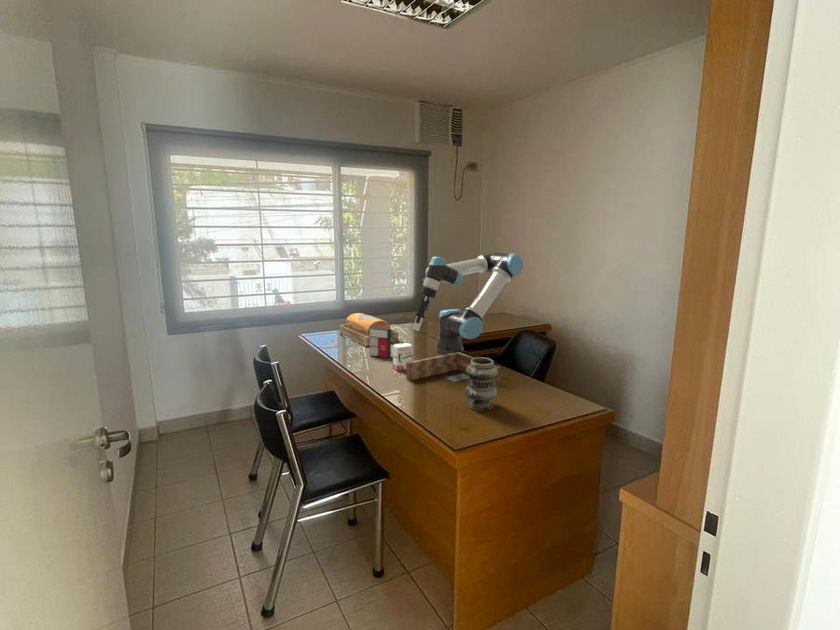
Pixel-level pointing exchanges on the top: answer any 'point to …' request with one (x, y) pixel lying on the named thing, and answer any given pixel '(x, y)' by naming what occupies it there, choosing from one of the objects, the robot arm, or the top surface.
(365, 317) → the orange rounded block
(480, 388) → the apothecary jar
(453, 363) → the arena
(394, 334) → the crate
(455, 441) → the top surface
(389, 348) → the grey and red box
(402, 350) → the ink box
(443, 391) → the top surface
